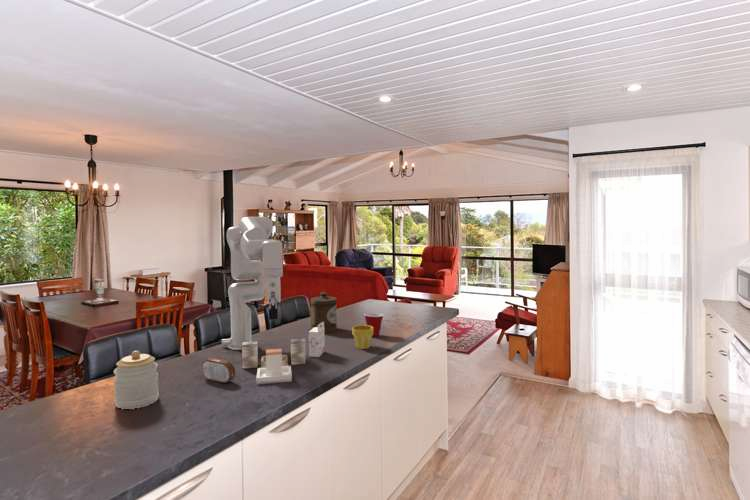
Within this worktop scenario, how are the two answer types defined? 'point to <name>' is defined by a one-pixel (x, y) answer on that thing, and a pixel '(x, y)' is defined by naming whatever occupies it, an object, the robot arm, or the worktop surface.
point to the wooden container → (323, 312)
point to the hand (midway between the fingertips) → (273, 316)
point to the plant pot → (362, 336)
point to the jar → (136, 381)
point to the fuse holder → (252, 356)
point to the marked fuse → (273, 362)
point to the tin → (218, 370)
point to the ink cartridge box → (316, 341)
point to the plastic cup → (374, 322)
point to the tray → (265, 379)
